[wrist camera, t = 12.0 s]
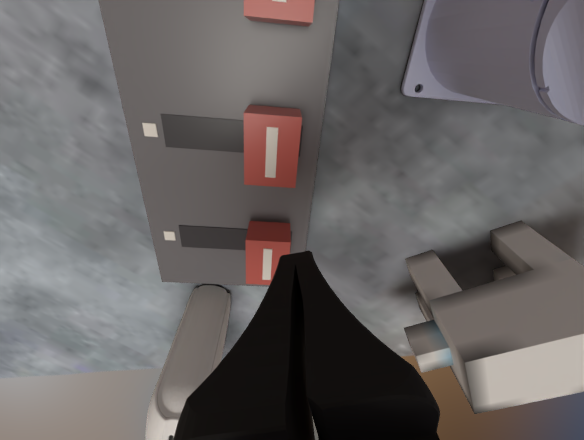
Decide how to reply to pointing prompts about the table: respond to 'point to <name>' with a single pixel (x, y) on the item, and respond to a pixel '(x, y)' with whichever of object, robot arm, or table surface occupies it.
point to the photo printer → (189, 358)
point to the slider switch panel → (214, 122)
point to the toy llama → (504, 322)
